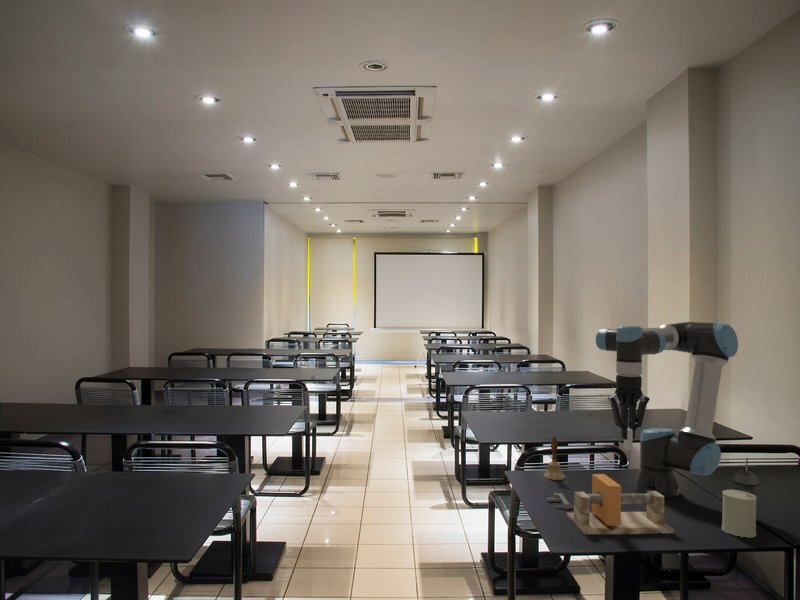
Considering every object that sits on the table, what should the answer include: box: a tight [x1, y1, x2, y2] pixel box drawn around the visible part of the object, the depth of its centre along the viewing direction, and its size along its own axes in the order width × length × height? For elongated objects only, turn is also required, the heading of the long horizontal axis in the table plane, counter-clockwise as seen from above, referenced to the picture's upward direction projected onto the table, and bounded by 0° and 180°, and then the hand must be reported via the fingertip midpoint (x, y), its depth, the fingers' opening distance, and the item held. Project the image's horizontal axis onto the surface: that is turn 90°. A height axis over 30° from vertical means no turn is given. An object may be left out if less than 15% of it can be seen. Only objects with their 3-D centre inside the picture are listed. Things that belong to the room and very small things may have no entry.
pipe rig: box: [565, 491, 675, 536], centre depth 179 cm, size 28×15×10 cm, turn 94°
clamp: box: [546, 492, 574, 510], centre depth 195 cm, size 15×2×10 cm
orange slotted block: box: [591, 473, 622, 526], centre depth 179 cm, size 4×12×12 cm, turn 4°
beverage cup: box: [732, 457, 760, 497], centre depth 187 cm, size 7×7×20 cm
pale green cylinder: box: [721, 489, 757, 539], centre depth 175 cm, size 9×9×12 cm
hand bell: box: [543, 436, 566, 481], centre depth 226 cm, size 8×8×16 cm
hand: (628, 449), depth 180 cm, fingers closed
